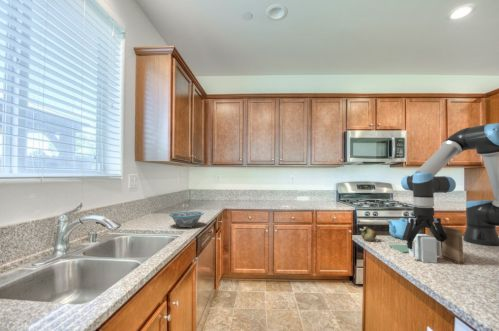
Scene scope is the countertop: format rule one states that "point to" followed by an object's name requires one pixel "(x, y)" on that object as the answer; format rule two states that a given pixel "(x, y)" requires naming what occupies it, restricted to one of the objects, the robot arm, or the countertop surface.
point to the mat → (400, 248)
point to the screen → (452, 245)
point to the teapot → (397, 227)
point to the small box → (425, 248)
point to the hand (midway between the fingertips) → (425, 255)
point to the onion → (368, 234)
